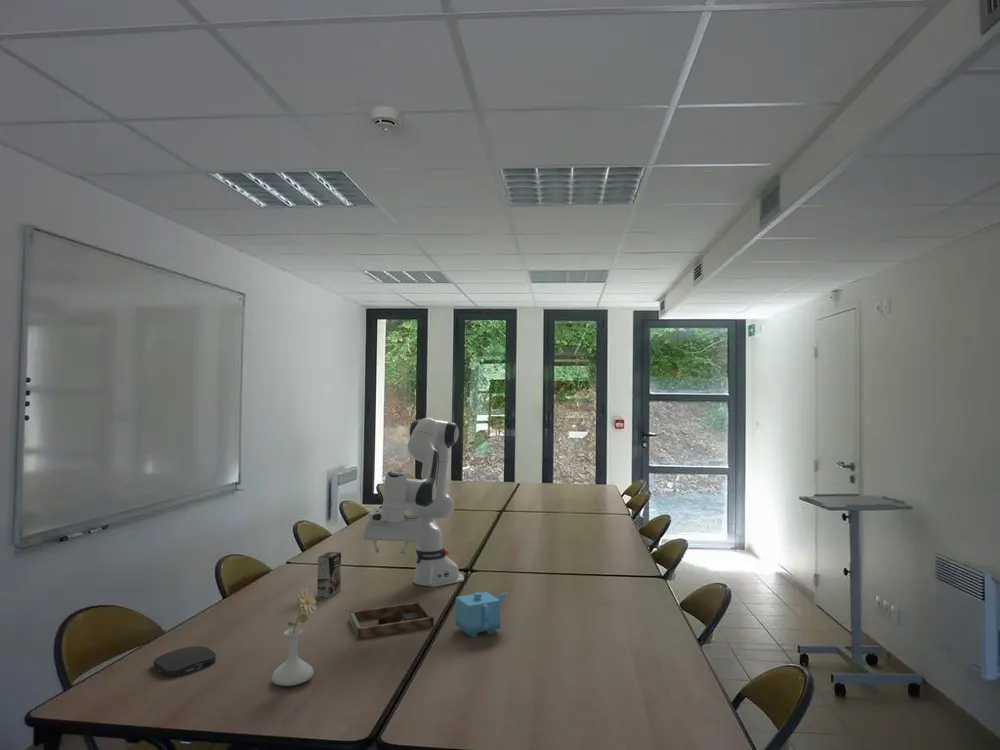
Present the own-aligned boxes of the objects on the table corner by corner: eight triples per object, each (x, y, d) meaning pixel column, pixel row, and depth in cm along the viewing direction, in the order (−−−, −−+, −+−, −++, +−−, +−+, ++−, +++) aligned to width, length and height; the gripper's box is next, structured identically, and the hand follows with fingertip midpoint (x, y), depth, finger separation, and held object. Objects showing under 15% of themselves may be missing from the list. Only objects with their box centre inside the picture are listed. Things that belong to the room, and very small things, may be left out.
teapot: (471, 642, 197) (471, 602, 197) (452, 626, 210) (452, 589, 211) (518, 632, 205) (518, 594, 205) (498, 617, 219) (497, 582, 219)
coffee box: (331, 597, 242) (331, 557, 242) (316, 596, 243) (317, 556, 244) (341, 590, 251) (341, 552, 251) (327, 589, 252) (327, 551, 253)
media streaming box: (198, 651, 191) (198, 641, 191) (220, 663, 182) (220, 653, 182) (149, 667, 180) (149, 657, 180) (169, 681, 170) (169, 670, 171)
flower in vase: (289, 694, 162) (290, 601, 163) (262, 683, 168) (263, 594, 169) (326, 675, 173) (327, 588, 174) (300, 666, 179) (301, 582, 180)
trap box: (419, 609, 227) (419, 601, 227) (433, 626, 210) (433, 617, 211) (349, 620, 217) (349, 611, 217) (358, 638, 200) (358, 629, 200)
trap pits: (416, 612, 225) (416, 611, 225) (427, 625, 212) (427, 623, 212) (401, 614, 222) (401, 613, 222) (410, 627, 210) (410, 626, 210)
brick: (393, 618, 219) (393, 605, 219) (403, 620, 217) (402, 607, 217) (377, 629, 209) (377, 615, 209) (387, 630, 207) (387, 617, 207)
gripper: (420, 514, 226) (417, 551, 226) (365, 512, 222) (362, 549, 222) (421, 517, 220) (418, 555, 219) (365, 515, 216) (361, 553, 215)
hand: (389, 552), depth 220 cm, fingers open, 8 cm apart
